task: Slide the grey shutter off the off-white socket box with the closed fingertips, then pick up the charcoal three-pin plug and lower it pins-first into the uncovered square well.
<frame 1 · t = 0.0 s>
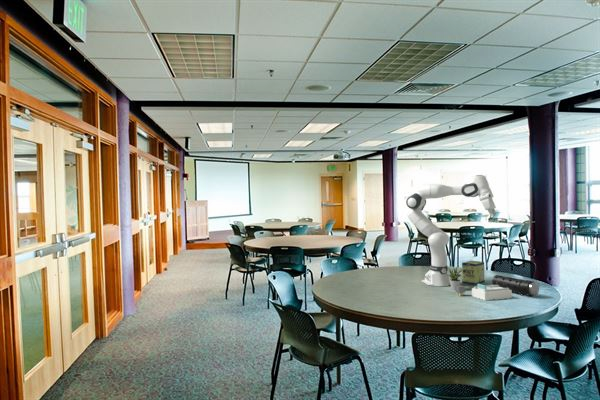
hand: (493, 215, 266), 52 cm above the table, tool tilted 20°, fingers open, 8 cm apart
house plant: (456, 289, 272), on the table
muzzle brake: (515, 293, 259), on the table
socket box: (491, 296, 250), on the table
plug: (460, 295, 256), on the table
shutter: (486, 286, 249), point 7 cm above the table, slide at 0.0 cm
protein box: (473, 282, 293), on the table
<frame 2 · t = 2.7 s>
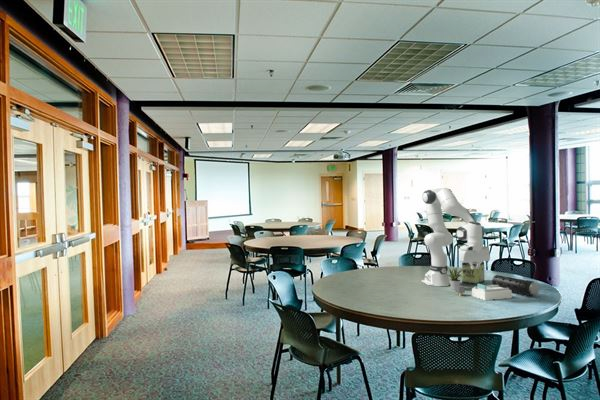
hand: (475, 268, 247), 19 cm above the table, tool pointing down, fingers closed
nothing on the table moved.
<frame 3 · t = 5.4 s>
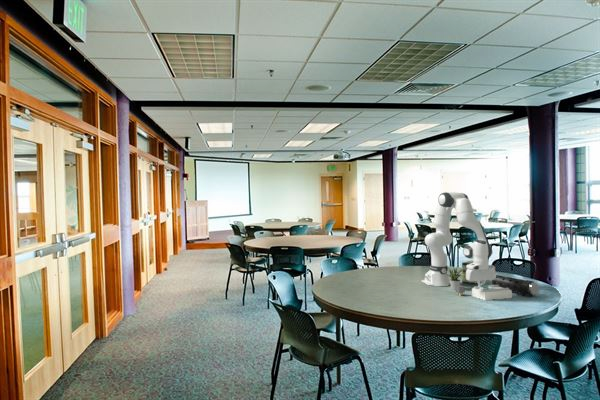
hand: (481, 287, 248), 7 cm above the table, tool pointing down, fingers closed
shutter: (488, 286, 249), point 7 cm above the table, slide at 1.6 cm, touching gripper
everything else where it was.
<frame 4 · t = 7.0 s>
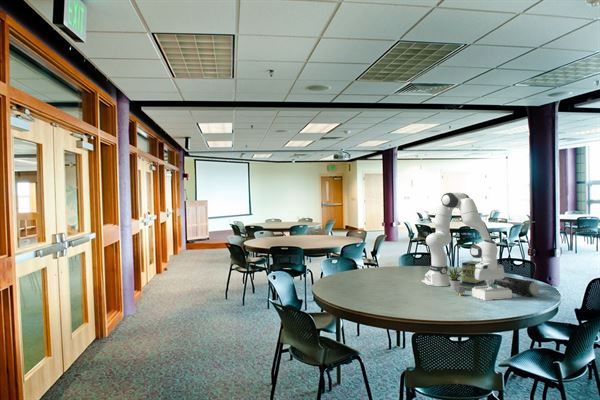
hand: (490, 286, 250), 7 cm above the table, tool pointing down, fingers closed
shutter: (496, 286, 251), point 7 cm above the table, slide at 8.2 cm, touching gripper
everything else where it was.
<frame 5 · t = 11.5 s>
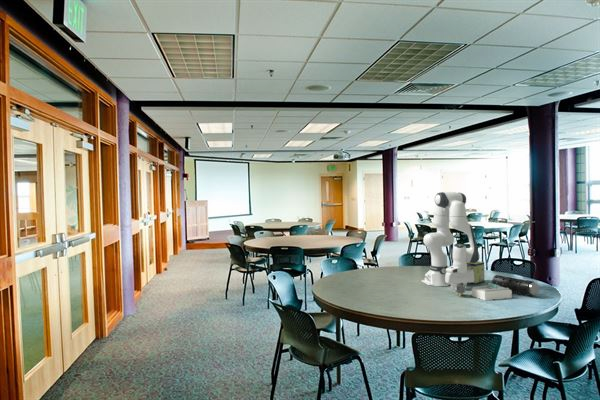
hand: (460, 289, 256), 4 cm above the table, tool pointing down, fingers closed on plug, 4 cm apart
plug: (460, 295, 256), on the table, touching gripper
shutter: (496, 286, 251), point 7 cm above the table, slide at 8.2 cm
everything else where it was.
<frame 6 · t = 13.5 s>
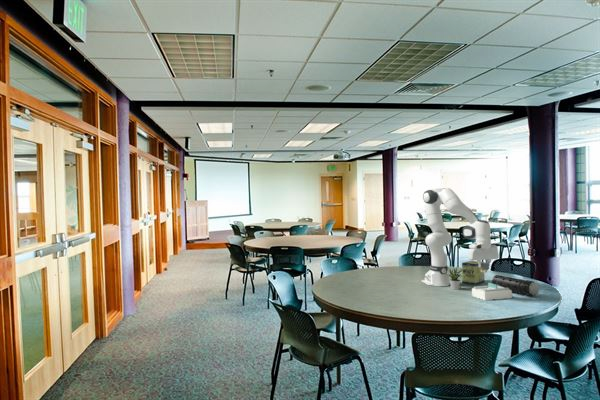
hand: (484, 266, 249), 20 cm above the table, tool pointing down, fingers closed on plug, 4 cm apart
plug: (484, 272, 249), point 16 cm above the table, touching gripper
everything else where it was.
when the fingers open (6 cm above the table, at t = 15.9 s): plug drops 1 cm, resting on socket box.
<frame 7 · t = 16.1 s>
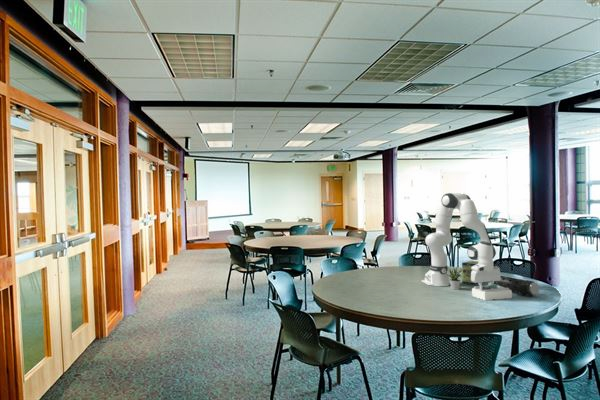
hand: (486, 288, 249), 6 cm above the table, tool pointing down, fingers open, 5 cm apart
plug: (486, 295, 249), point 1 cm above the table, touching socket box
shutter: (497, 285, 251), point 7 cm above the table, slide at 8.4 cm, touching gripper
everything else where it was.
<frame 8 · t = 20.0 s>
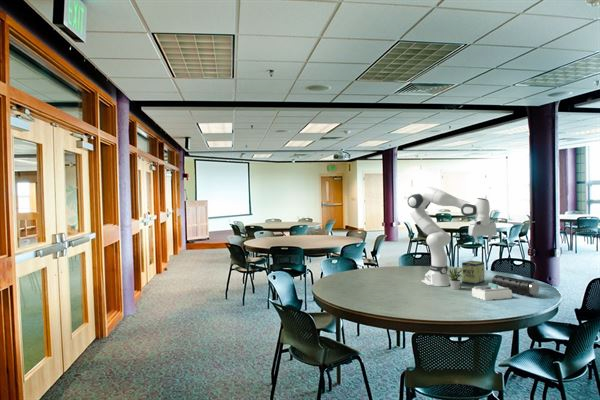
hand: (483, 242, 263), 34 cm above the table, tool pointing down, fingers open, 8 cm apart
shutter: (497, 285, 251), point 7 cm above the table, slide at 8.5 cm
everything else where it was.
at the end: plug 0.0 cm from the target spot on the socket box, point 1.0 cm above the socket box's base; shutter slide at 8.5 cm; the gripper is holding nothing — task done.
